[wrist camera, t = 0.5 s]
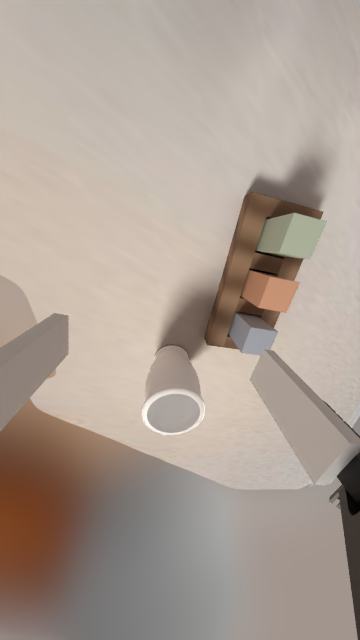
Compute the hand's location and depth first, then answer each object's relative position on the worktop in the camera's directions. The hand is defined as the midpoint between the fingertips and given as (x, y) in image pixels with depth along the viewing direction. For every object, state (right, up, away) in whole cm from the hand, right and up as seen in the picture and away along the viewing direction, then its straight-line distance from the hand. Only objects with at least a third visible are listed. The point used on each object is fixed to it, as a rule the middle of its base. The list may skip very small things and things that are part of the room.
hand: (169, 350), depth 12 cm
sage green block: (+17, +17, +20) cm, 31 cm away
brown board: (+15, +10, +25) cm, 31 cm away
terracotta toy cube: (+16, +9, +23) cm, 29 cm away
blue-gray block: (+14, +1, +26) cm, 30 cm away
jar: (-1, -7, +31) cm, 32 cm away
